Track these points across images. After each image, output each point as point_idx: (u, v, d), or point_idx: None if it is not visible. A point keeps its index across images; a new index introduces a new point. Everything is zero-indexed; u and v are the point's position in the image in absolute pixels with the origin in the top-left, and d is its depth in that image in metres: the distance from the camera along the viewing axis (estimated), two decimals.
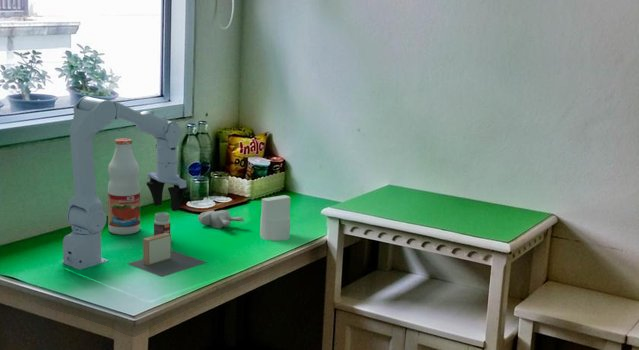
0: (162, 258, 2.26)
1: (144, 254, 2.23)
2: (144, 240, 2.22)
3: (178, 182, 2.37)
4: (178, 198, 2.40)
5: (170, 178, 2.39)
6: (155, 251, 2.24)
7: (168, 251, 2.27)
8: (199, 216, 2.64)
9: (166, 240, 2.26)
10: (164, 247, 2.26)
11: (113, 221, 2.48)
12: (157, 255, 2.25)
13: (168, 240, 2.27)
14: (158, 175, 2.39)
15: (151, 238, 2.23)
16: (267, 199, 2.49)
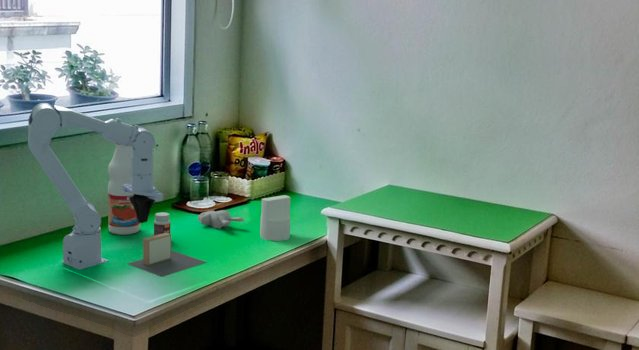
0: (162, 258, 2.26)
1: (144, 254, 2.23)
2: (144, 240, 2.22)
3: (154, 195, 2.21)
4: (146, 209, 2.27)
5: (146, 191, 2.23)
6: (155, 251, 2.24)
7: (168, 251, 2.27)
8: (199, 216, 2.64)
9: (166, 240, 2.26)
10: (164, 247, 2.26)
11: (113, 221, 2.48)
12: (157, 255, 2.25)
13: (168, 240, 2.27)
14: (133, 187, 2.24)
15: (151, 238, 2.23)
16: (267, 199, 2.49)
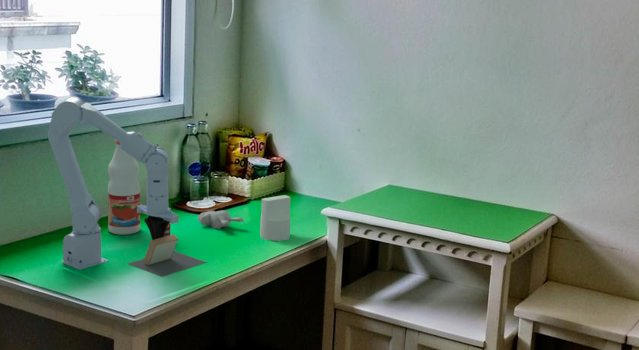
0: (163, 258, 2.26)
1: (147, 254, 2.22)
2: (151, 242, 2.20)
3: (170, 217, 2.19)
4: (161, 231, 2.24)
5: (161, 212, 2.21)
6: (158, 254, 2.23)
7: (170, 253, 2.27)
8: (199, 216, 2.64)
9: (172, 244, 2.25)
10: (168, 250, 2.25)
11: (113, 221, 2.48)
12: (159, 257, 2.24)
13: (174, 244, 2.25)
14: (148, 209, 2.21)
15: (158, 242, 2.21)
16: (267, 199, 2.49)
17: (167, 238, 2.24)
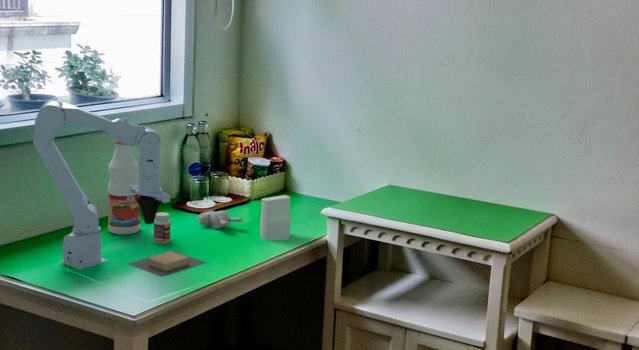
0: None
1: (155, 262, 2.21)
2: (165, 266, 2.18)
3: (161, 196, 2.20)
4: (153, 210, 2.25)
5: (153, 192, 2.22)
6: None
7: None
8: (199, 216, 2.64)
9: None
10: None
11: (113, 221, 2.48)
12: None
13: None
14: (140, 188, 2.22)
15: (170, 267, 2.20)
16: (267, 199, 2.49)
17: (180, 262, 2.22)
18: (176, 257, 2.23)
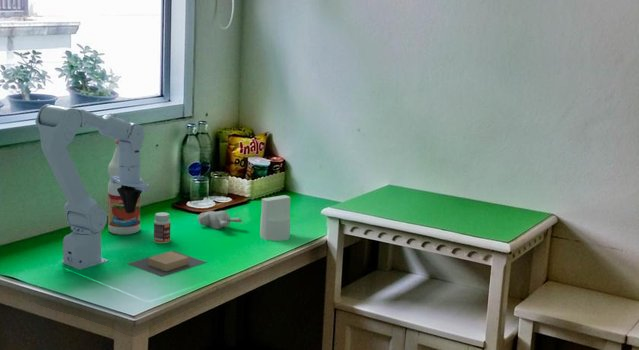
0: None
1: (155, 262, 2.21)
2: (165, 266, 2.18)
3: (141, 186, 2.29)
4: (133, 200, 2.35)
5: (133, 182, 2.31)
6: None
7: None
8: (198, 216, 2.64)
9: None
10: None
11: (113, 221, 2.48)
12: None
13: None
14: (120, 179, 2.31)
15: (170, 267, 2.20)
16: (267, 199, 2.49)
17: (180, 262, 2.22)
18: (176, 257, 2.23)
